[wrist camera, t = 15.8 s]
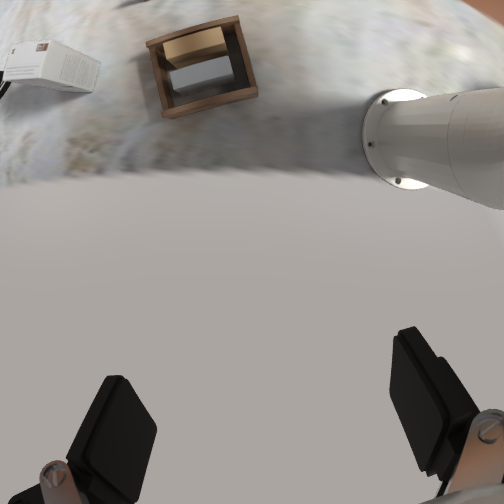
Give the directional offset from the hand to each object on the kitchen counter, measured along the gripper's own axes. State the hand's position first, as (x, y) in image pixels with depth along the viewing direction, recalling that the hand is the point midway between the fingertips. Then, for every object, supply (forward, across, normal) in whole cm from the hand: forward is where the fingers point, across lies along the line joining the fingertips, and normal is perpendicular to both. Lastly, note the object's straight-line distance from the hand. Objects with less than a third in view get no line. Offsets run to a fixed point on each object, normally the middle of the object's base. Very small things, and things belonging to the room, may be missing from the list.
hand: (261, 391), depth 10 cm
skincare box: (+28, +18, -22) cm, 40 cm away
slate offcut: (+28, +2, -16) cm, 32 cm away
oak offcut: (+28, +2, -19) cm, 34 cm away
